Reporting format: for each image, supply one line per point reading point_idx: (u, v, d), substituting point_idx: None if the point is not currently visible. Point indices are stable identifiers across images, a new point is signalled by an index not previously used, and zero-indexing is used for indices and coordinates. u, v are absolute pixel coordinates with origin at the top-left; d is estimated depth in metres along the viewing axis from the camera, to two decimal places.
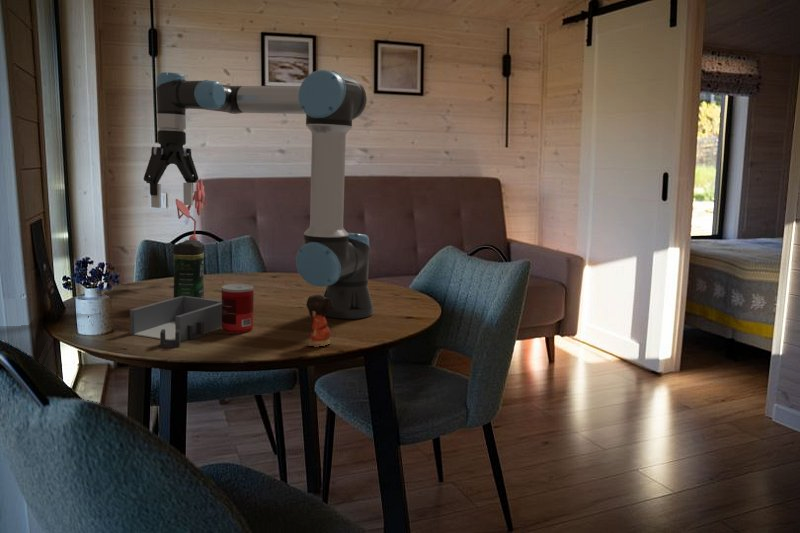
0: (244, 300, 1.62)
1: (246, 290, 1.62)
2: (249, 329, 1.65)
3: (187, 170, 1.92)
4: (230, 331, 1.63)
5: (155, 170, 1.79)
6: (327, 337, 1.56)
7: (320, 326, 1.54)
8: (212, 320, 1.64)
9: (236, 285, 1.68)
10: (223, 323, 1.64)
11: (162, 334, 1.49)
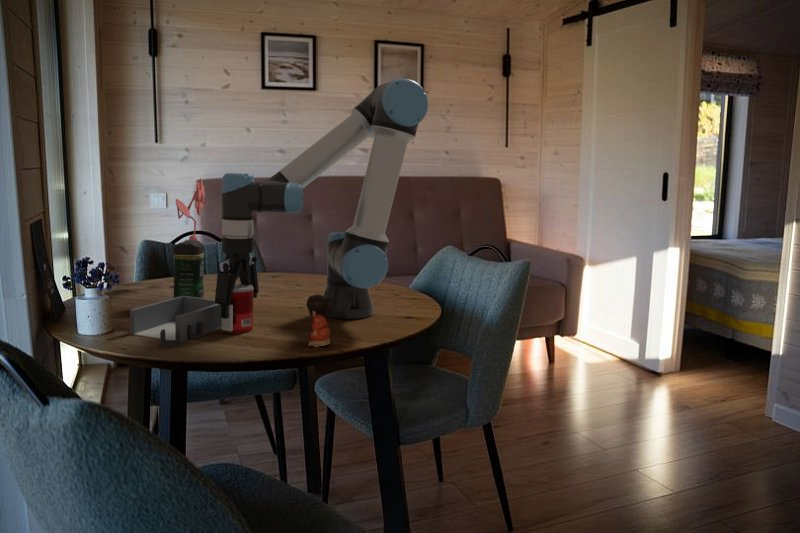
0: (244, 300, 1.62)
1: (246, 290, 1.62)
2: (249, 329, 1.65)
3: (249, 282, 1.68)
4: (230, 331, 1.63)
5: (226, 290, 1.58)
6: (327, 337, 1.56)
7: (320, 326, 1.54)
8: (212, 320, 1.64)
9: (236, 285, 1.68)
10: None
11: (162, 334, 1.49)
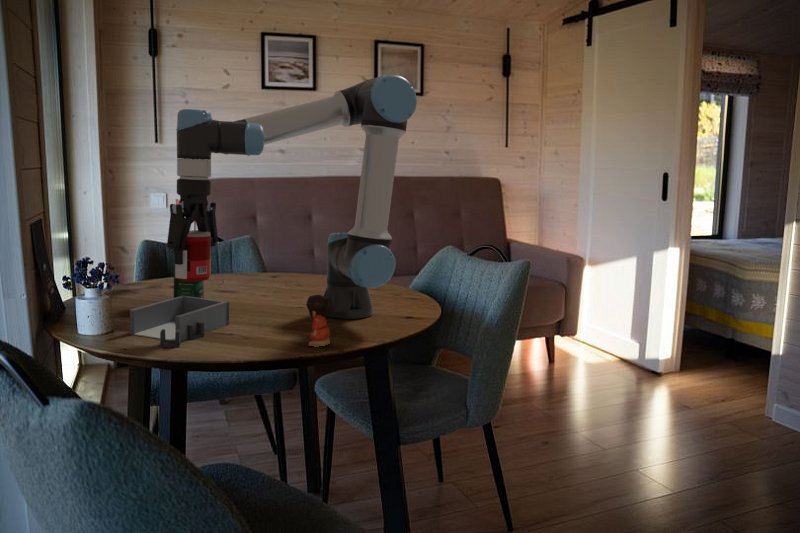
0: (199, 246, 1.52)
1: (202, 235, 1.52)
2: (205, 278, 1.55)
3: (207, 229, 1.58)
4: (184, 279, 1.53)
5: (179, 234, 1.48)
6: (327, 337, 1.56)
7: (320, 326, 1.54)
8: (212, 320, 1.64)
9: (193, 231, 1.57)
10: None
11: (162, 334, 1.49)
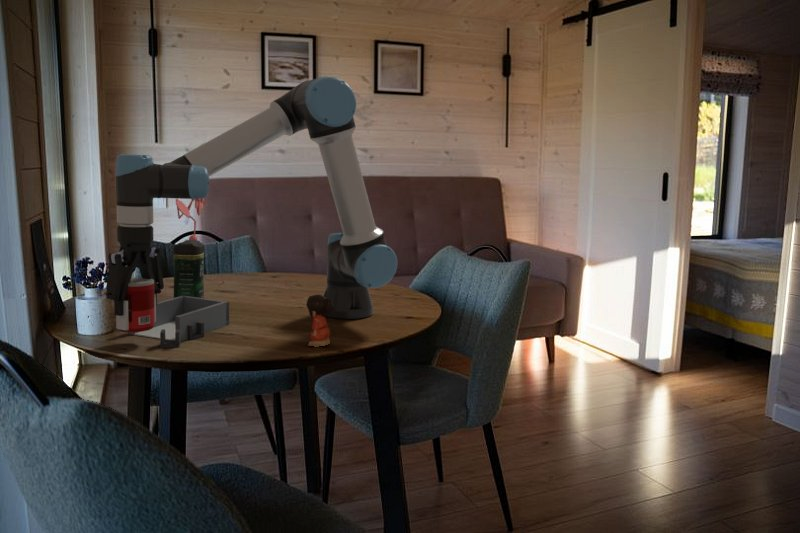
0: (141, 296, 1.46)
1: (143, 284, 1.46)
2: (148, 328, 1.49)
3: (151, 276, 1.51)
4: (125, 330, 1.46)
5: (118, 284, 1.42)
6: (327, 337, 1.56)
7: (320, 326, 1.54)
8: (212, 320, 1.64)
9: (136, 279, 1.51)
10: None
11: (162, 334, 1.49)
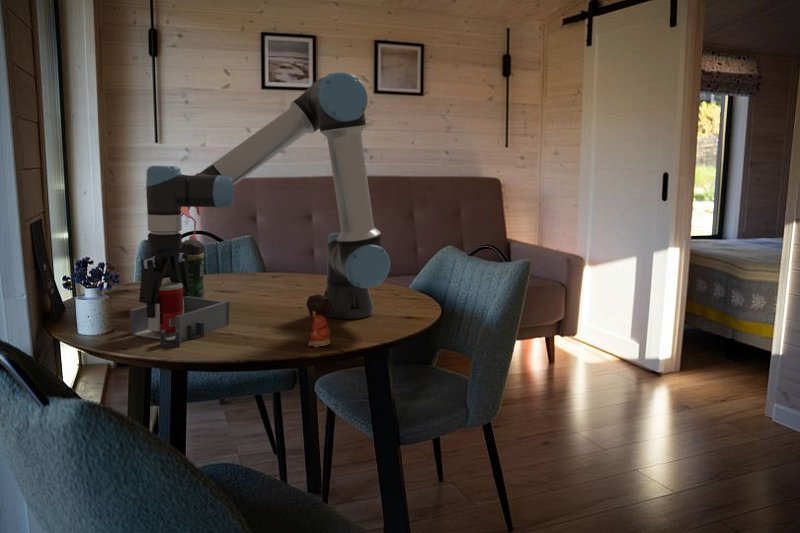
0: (171, 299, 1.55)
1: (173, 288, 1.55)
2: None
3: (179, 280, 1.60)
4: None
5: (151, 289, 1.51)
6: (327, 337, 1.56)
7: (320, 326, 1.54)
8: (212, 320, 1.64)
9: (165, 283, 1.60)
10: None
11: (162, 334, 1.49)
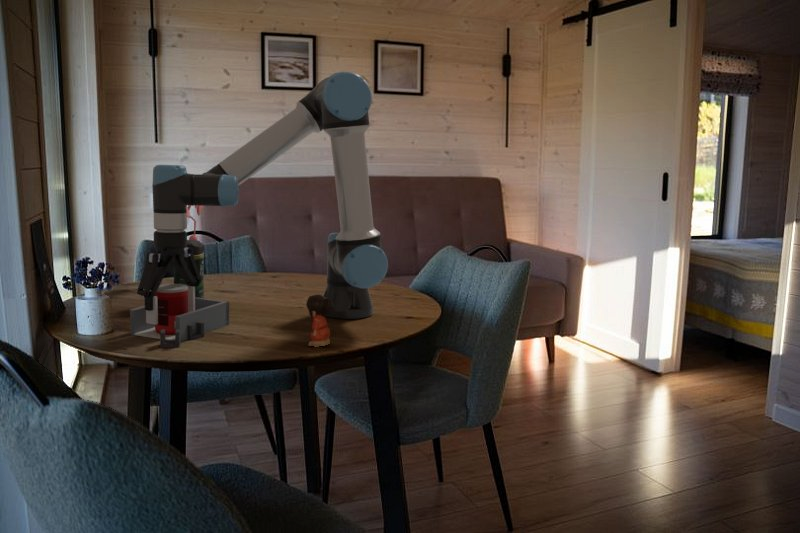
0: (176, 301, 1.57)
1: (179, 290, 1.57)
2: None
3: (188, 273, 1.64)
4: None
5: (151, 282, 1.51)
6: (327, 337, 1.56)
7: (320, 326, 1.54)
8: (212, 320, 1.64)
9: (171, 285, 1.62)
10: (156, 324, 1.59)
11: (162, 334, 1.49)
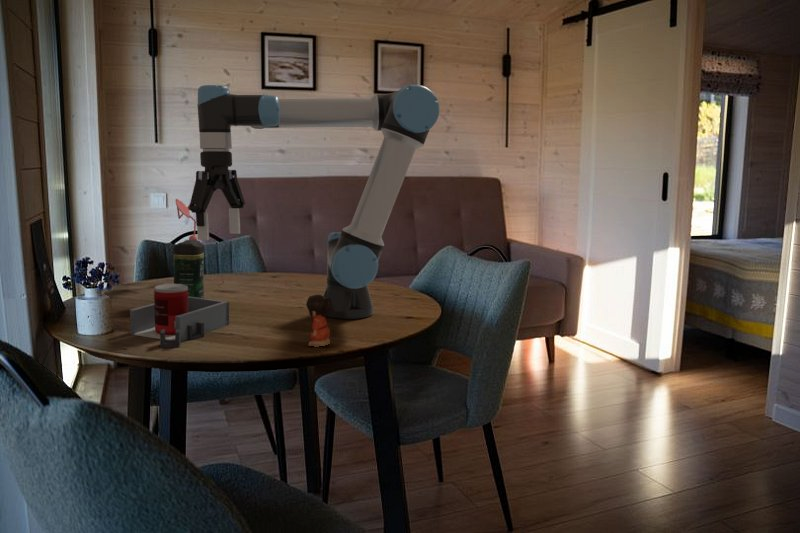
0: (176, 301, 1.57)
1: (179, 290, 1.57)
2: None
3: (233, 194, 1.69)
4: None
5: (202, 198, 1.57)
6: (327, 337, 1.56)
7: (320, 326, 1.54)
8: (212, 320, 1.64)
9: (171, 285, 1.62)
10: (156, 324, 1.59)
11: (162, 334, 1.49)
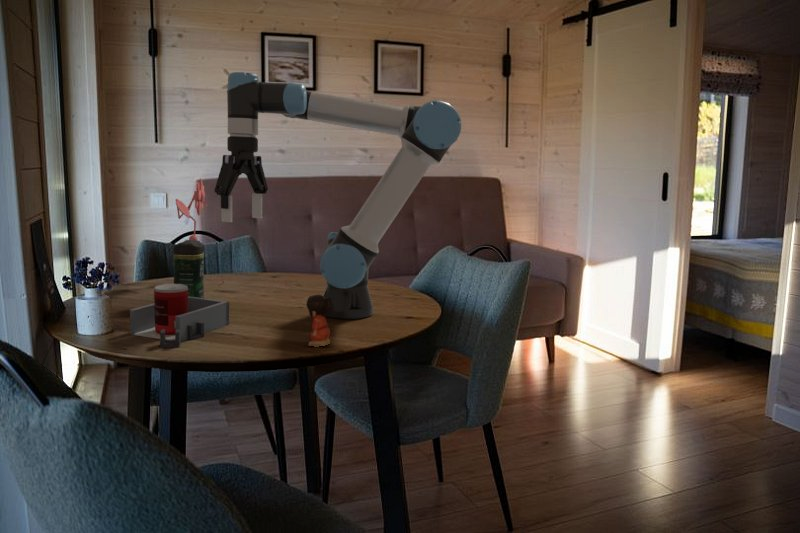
0: (176, 301, 1.57)
1: (179, 290, 1.57)
2: None
3: (257, 180, 1.74)
4: None
5: (227, 181, 1.61)
6: (327, 337, 1.56)
7: (320, 326, 1.54)
8: (212, 320, 1.64)
9: (171, 285, 1.62)
10: (156, 324, 1.59)
11: (162, 334, 1.49)
